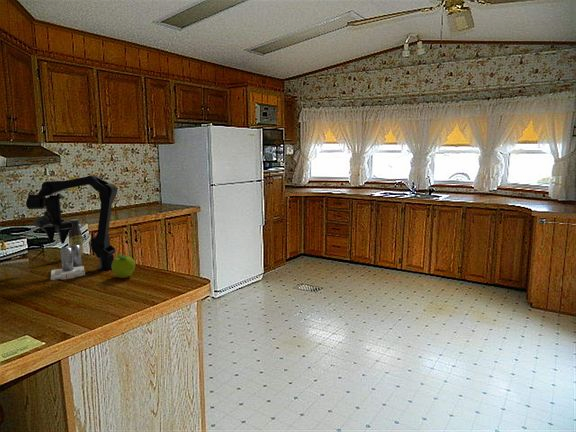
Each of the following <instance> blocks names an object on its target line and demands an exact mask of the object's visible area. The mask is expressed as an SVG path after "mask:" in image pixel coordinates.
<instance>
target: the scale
mask: <svg viewBox="0 0 576 432" xmlns="http://www.w3.org/2000/svg"><path fill="white" fill-rule="evenodd" d="M83 275H84V276H86V272H85V267H84V265H82V266H79V267H74V270H72V271H63V270H62V268H57V269H51V271H50V281H56V280H61V281H62V280H69V279H70V280H71V279H75V278H76V277H82V276H83Z"/></svg>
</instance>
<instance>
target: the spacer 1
mask: <svg viewBox="0 0 576 432" xmlns="http://www.w3.org/2000/svg"><path fill="white" fill-rule="evenodd" d="M59 250H60V259H61V260H60V261H61V267H62V268H61V269H62V270H63V271H72V270H74V267H73V257H72V247H69V246H66V247H61V248H60V249H59Z"/></svg>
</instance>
